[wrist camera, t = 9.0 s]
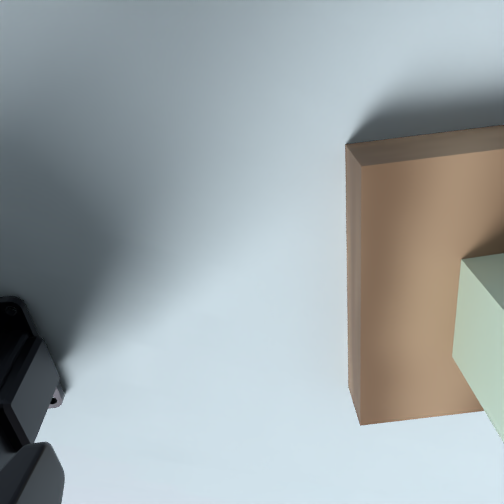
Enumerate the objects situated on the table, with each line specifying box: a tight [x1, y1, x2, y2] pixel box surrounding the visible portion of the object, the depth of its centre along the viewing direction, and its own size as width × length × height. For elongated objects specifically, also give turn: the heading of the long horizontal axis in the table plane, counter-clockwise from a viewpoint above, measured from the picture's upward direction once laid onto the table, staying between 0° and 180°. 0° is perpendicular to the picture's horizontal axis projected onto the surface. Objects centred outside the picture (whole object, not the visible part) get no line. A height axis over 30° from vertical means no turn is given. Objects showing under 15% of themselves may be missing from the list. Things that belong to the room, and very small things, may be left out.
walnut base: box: [345, 125, 504, 425], centre depth 21 cm, size 13×13×3 cm
